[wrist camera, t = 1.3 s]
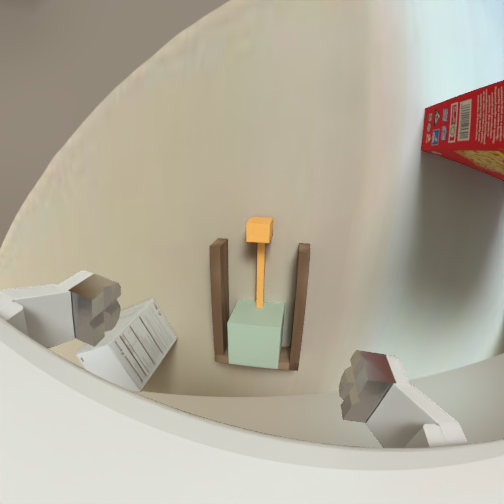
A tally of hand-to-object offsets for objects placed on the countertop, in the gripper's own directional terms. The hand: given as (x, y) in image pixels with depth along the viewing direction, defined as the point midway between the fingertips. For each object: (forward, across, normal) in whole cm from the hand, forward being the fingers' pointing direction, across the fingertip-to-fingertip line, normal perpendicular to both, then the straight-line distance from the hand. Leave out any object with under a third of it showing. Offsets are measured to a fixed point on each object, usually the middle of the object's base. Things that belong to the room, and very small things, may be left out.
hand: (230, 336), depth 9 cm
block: (+26, -1, +9) cm, 28 cm away
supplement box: (+27, +14, +21) cm, 37 cm away
